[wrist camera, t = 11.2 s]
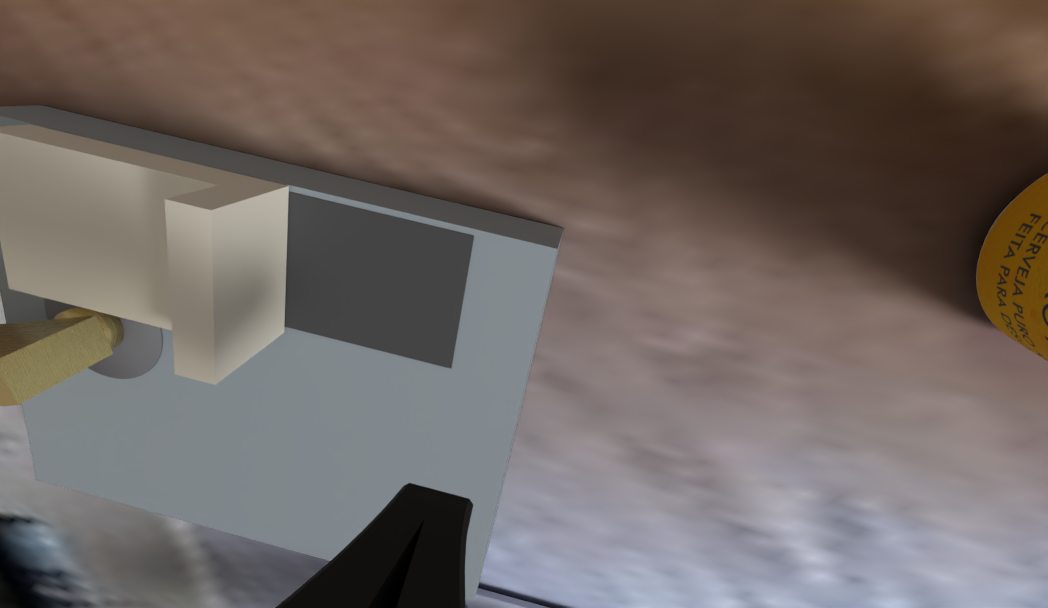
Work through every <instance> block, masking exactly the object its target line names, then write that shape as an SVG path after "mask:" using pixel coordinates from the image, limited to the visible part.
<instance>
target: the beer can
mask: <svg viewBox="0 0 1048 608" xmlns="http://www.w3.org/2000/svg"><path fill="white" fill-rule="evenodd" d="M976 287H977V292H978V297H979V300H980V303H981V305H982V308H983V310H984V311H985V313H986V315H987V316H988V318H989V319H990V320H991V322H992V323H993V324H994V325H995V326H996V327H997V328H998V329H999V330H1000V331H1001V332H1003V333H1004V334H1006V335H1007V336H1008V337H1010V338H1012V339H1013V340H1015V341H1016V342H1018V343H1020V344H1021V345H1023V346H1024V347H1026V348H1028V349H1029V350H1031V351H1032V352H1034V353H1036V354H1037V355H1039V356H1040V357H1042V358H1044V359H1045V360H1047V361H1048V173H1047V174H1045V175H1044V176H1042V177H1041V178H1039V179H1038V180H1036V181H1035V182H1034V183H1032V184H1031V185H1030V186H1028V187H1027V188H1026V189H1025V190H1024V191H1023V192H1021V193H1020V194H1019V195H1018V196H1017V197H1016V198H1015V199H1014V200H1012V201H1011V202H1010V203H1009V204H1008V205H1007V207H1006V208H1005V209H1004V210H1003V211H1002V212H1001V213H1000V215H999V216H998V217H997V218H996V220H995V222H994V223H993V225H992V226H991V228H990V230H989V232H988V234H987V236H986V238H985V240H984V243H983V246H982V249H981V252H980V255H979V259H978V263H977V272H976Z"/></svg>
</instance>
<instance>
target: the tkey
mask: <svg viewBox="0 0 1048 608" xmlns="http://www.w3.org/2000/svg"><path fill="white" fill-rule="evenodd" d="M123 338H124V329H123V325H122V323H121V321H120V319H119V317H117V316H113V315H109V314H106V313H102V312H98V311H94V310H90V309H86V308H82V307H78V306H75V307H73V308H71V309H68V310H66V311H63V312H61V313H59V314H57V315H56V316H55V318H54V319H51V320H41V321H30V322H20V323H9V324H0V406H10V405H19V404H21V403H23V402H25V401H27V400H29V399H31V398H32V397H34V396H36V395H38V394H40V393H42V392H43V391H45V390H47V389H49V388H51V387H53V386H55V385H56V384H58V383H60V382H62V381H64V380H66V379H67V378H69V377H71V376H73V375H75V374H77V373H79V372H80V371H82V370H84V369H86V368H88V367H90V366H91V365H93V364H95V363H97V362H99V361H101V360H103V359H104V358H106V357H108V356H110V355H112V354H113V352H112V350H111V349H113V348H115V347H117V346H118V345H120V344H121V342H122V341H123Z"/></svg>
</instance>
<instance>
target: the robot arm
mask: <svg viewBox="0 0 1048 608" xmlns="http://www.w3.org/2000/svg"><path fill="white" fill-rule="evenodd" d="M472 509H473V503H472V502H471V501H470V499H469V498H465V497H461V496H457V495H454V494H450V493H446V492H442V491H439V490H435V489H431V488H427V487H424V486H420V485H416V484H412V483H408V484H406V485H404V486H403V487H402V488H401V489H400V491H399V492H398V493H397V494H396V495H395V496H394V498H393V499H392V500H391V501H390V502H389V503H388V504H387V506H386V507H385V508H384V509H383V510H382V511H381V512H380V513H379V514H378V515H377V516H376V517H375V518H374V519H373V520H372V521H371V522H370V523H369V524H368V525H367V526H366V528H365V529H364V530H363V531H362V532H361V533H360V534H358V535H357V536H356V537H355V538H354V539H353V540H352V541H351V542H350V543H349V544H348V545H347V546H346V547H345V548H344V549H343V550H342V551H341V552H340V553H339V554H337V555H336V556H335V557H334V558H333V559H332V560H331V561H330V562H329V563H328V564H327V565H326V566H324V567H323V568H322V569H321V570H320V571H319V572H317V573H316V574H315V575H314V576H313V577H312V578H310V579H309V580H308V581H307V582H306V583H305V584H303V585H302V586H301V587H300V588H299V589H298V590H296V591H295V592H294V593H293V594H292V595H291V596H289V597H288V598H287V599H286V600H284V601H283V602H282V603H281V604H279V605H278V606H277V607H276V608H549V607H545V606H542V605H538V604H534V603H531V602H527V601H523V600H520V599H516V598H512V597H509V596H505V595H502V594H498V593H494V592H491V591H487V590H483V589H480V588H478V589H477V593H476V596H475V600H474V601H473V600H469V599H466V598H465V556H466V541H467V533H468V528H469V523H470V519H471V514H472Z"/></svg>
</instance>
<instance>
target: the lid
mask: <svg viewBox="0 0 1048 608" xmlns="http://www.w3.org/2000/svg"><path fill="white" fill-rule="evenodd" d="M288 197H289V186H287V185H283V184H279V183H275V182H270V181H266V180H262V179H258V178H254V177H249V176H245V175H241V174H237V173H233V172H228V171H224V170H220V169H216V168H212V167H207V166H203V165H199V164H195V163H191V162H186V161H182V160H178V159H174V158H170V157H165V156H161V155H157V154H153V153H149V152H144V151H140V150H136V149H132V148H128V147H124V146H119V145H115V144H111V143H107V142H103V141H98V140H94V139H90V138H86V137H82V136H77V135H73V134H69V133H65V132H61V131H56V130H52V129H48V128H44V127H40V126H35V125H31V124H29V125H14V126H0V243H1V248H2V254H3V259H4V264H5V270H6V275H7V281H8V286H9V289H12V290H16V291H20V292H24V293H28V294H31V295H35V296H39V297H43V298H47V299H51V300H55V301H59V302H63V303H67V304H70V305H74V306H78V307H82V308H86V309H90V310H94V311H98V312H102V313H106V314H109V315H113V316H117V317H121V318H125V319H129V320H133V321H137V322H141V323H145V324H148V325H152V326H156V327H160V328H164V329H168V330H172V335H173V352H174V369H175V375H179V376H183V377H187V378H190V379H194V380H198V381H202V382H206V383H210V384H213V385H216V384H217V383H219V382H220V381H221V380H223V379H224V378H225V377H227V376H228V375H229V374H230V373H232V372H233V371H234V370H236V369H237V368H238V367H240V366H241V365H242V364H244V363H245V362H246V361H248V360H249V359H250V358H251V357H253V356H254V355H255V354H257V353H258V352H259V351H261V350H262V349H263V348H265V347H266V346H267V345H269V344H270V343H271V342H272V341H274V340H275V339H276V338H278V337H279V336H280V335H282V334H283V333H284V323H285V292H286V260H287V229H288Z"/></svg>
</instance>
